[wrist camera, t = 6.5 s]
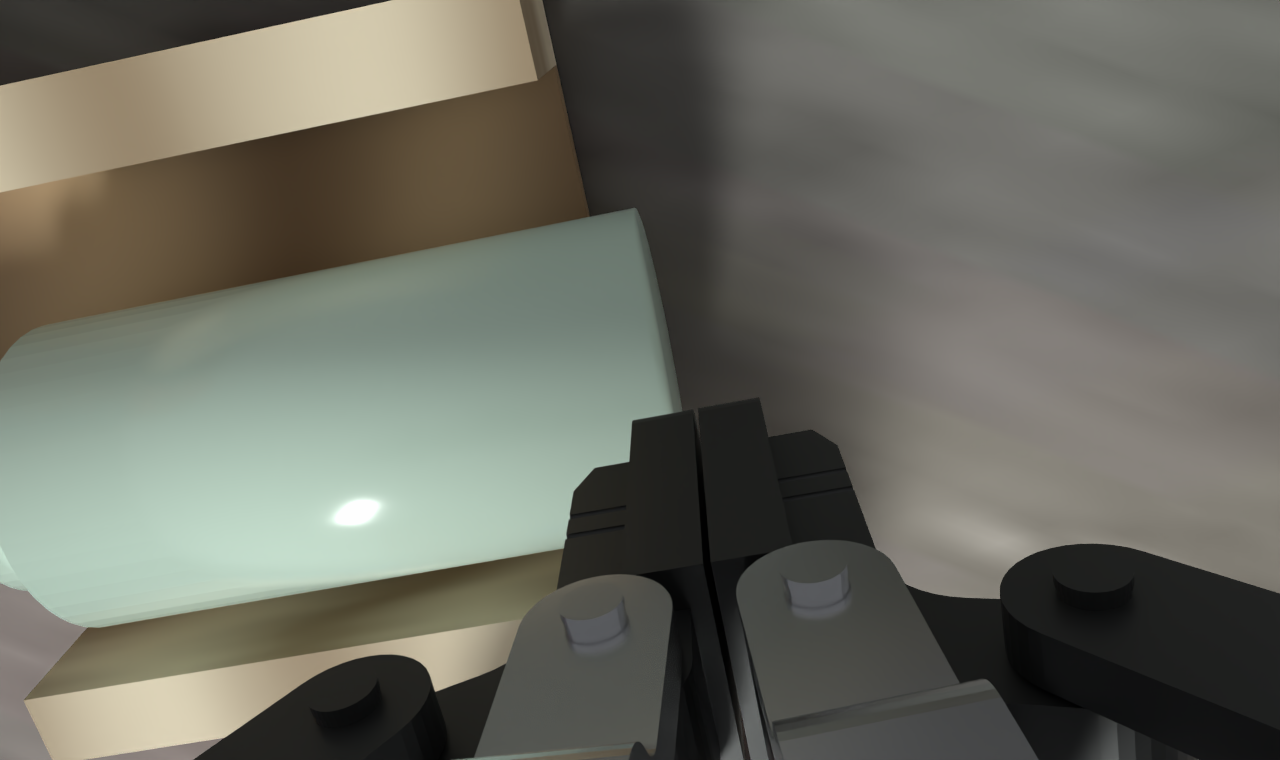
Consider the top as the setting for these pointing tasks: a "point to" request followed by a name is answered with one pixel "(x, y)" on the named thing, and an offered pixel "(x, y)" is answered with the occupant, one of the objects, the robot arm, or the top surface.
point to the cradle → (266, 250)
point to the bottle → (327, 423)
